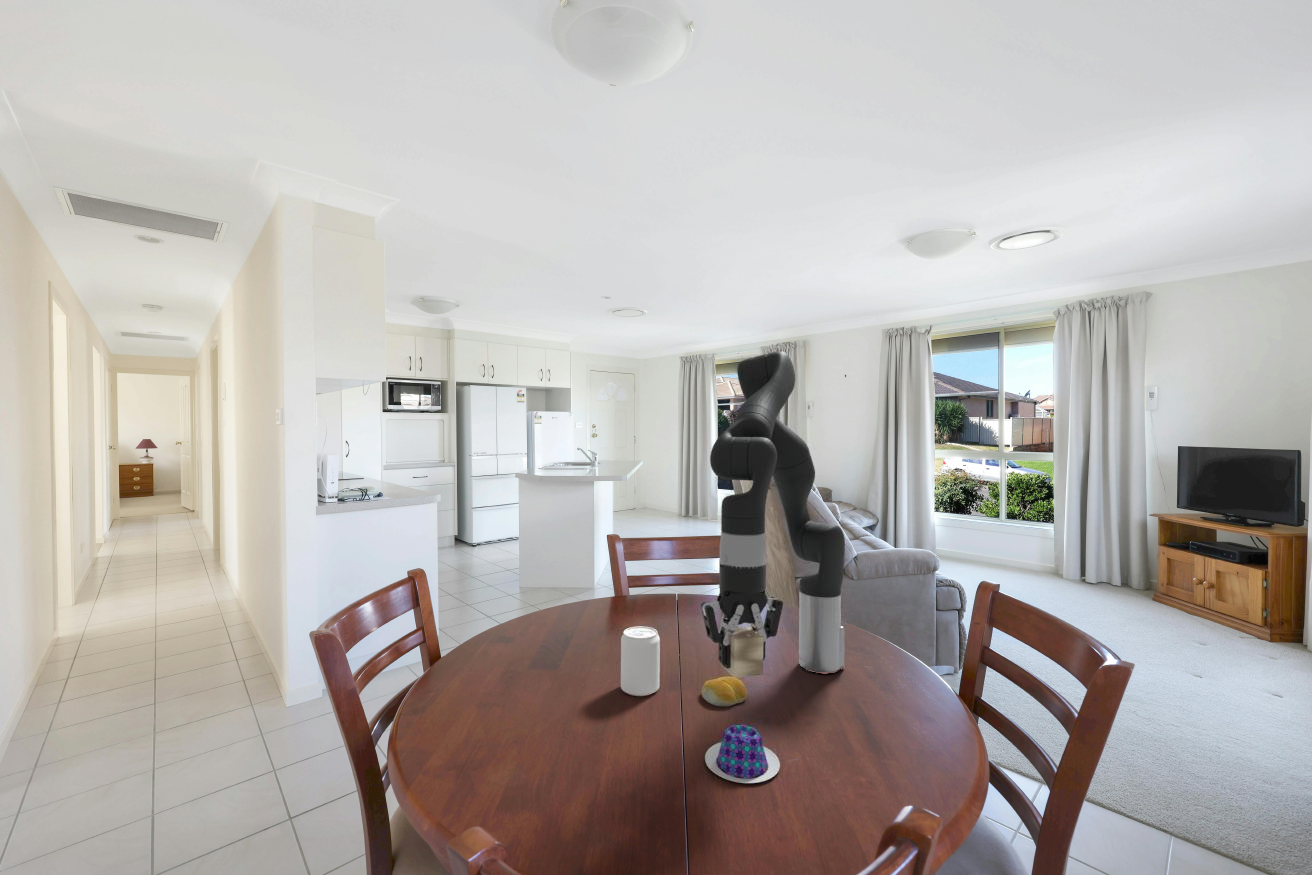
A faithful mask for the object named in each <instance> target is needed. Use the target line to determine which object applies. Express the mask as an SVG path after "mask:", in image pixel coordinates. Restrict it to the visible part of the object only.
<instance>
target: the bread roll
mask: <svg viewBox="0 0 1312 875" xmlns="http://www.w3.org/2000/svg"><path fill="white" fill-rule="evenodd" d="M747 695H748V690H747V688H746V686H745V684H744V683H743V681H742V680H740V679H739V678H734V677H733V676H732V675H731V676H720V677H718V678H716V679H715V678H714V679H710V680H709V679H708V680H706V681H705V682H704V684H703V685H702V687H701V696H702V699H704V700H705V701H706V702H707V703H708V704H711V705H712V706H716V707H731V706H734V705H736V704H741V703H743V702H744V701H746V700H747Z"/></svg>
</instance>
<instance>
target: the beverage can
mask: <svg viewBox="0 0 1312 875" xmlns="http://www.w3.org/2000/svg"><path fill="white" fill-rule="evenodd" d="M660 641H661V638H660V636H659V633H658V630H657V629H655V628H654V627H650V626H644V625H643V626H642V625H641V626H638V625H637V626H630V627H628V628H626V629H624V630H623V633H622V636H621V638H620V689H621V690H622V691H623V692H624V693H626V694H628V695H630V696H636V697H645V696H649V695H651V694H654V693H656V692H657V691H658V690H659V689H660V667H661V664H660V663H661V662H660V661H661V660H660V655H661V653H660V651H661V650H660V647H661V642H660Z"/></svg>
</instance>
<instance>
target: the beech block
mask: <svg viewBox="0 0 1312 875" xmlns="http://www.w3.org/2000/svg"><path fill="white" fill-rule="evenodd" d="M729 645H730V646H731V667H730V668H725V667H724V666H723V665H722V664H721V667H722V668H723V669H724V670H725V671H726V672H727V673H728V674H729V675H731V677H734V678H737V679H739V678H746V677H747V678H748V677H754V676H762V675H764V660H763V636H761V635H760V634H758V633H757V632H756V631H755V630H752V628H751V626H744V627H741V626H740V627H737V628H736V631H735V632H734V633H733V635H732V637H731V641H730V644H729Z"/></svg>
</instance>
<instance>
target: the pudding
mask: <svg viewBox="0 0 1312 875" xmlns="http://www.w3.org/2000/svg"><path fill="white" fill-rule="evenodd" d="M704 761H705V764H706V766H707V767H708V769H709V770H710V771H712V773H714V774H716V775H717V776H719V777H721V778H723V779H725V780H727V781H731V782H734V783H740V784H741V783H742V784H755V783H762V782H765V781H768V780H770V779H772V778H773V777H775V776H776V775H777V774H778V772H779V771H780V769H781V768H780V767H781V763H780V760H779V758H778V757H777V755H776V754H775V752H773V750H771V749H769V748H768V747H766V746H764V743H763V738H762V735H761V734H760V732H758V731H757V729H756V728H755V727H753V726H748V725H747V724H739V725H738V724H733V725H730V727H727V728H726V729H724V732H723V735H722V738H721V741H720V742H718V743H715V744H713V745H712V746H711V747H709V748H708V749H707V751H706V752H705V754H704ZM766 768H767V770H765V769H766ZM722 770H723V771H722ZM724 771H725V772H724ZM756 776H758V777H756Z"/></svg>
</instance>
